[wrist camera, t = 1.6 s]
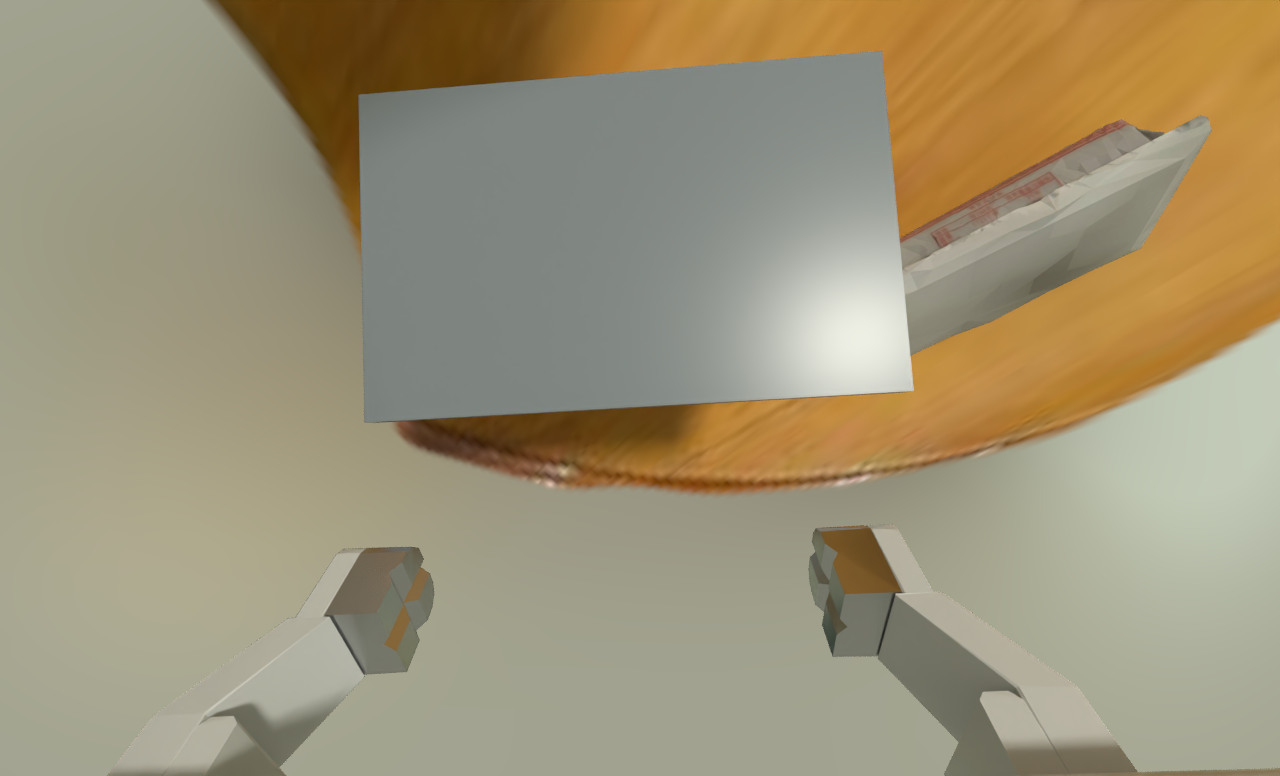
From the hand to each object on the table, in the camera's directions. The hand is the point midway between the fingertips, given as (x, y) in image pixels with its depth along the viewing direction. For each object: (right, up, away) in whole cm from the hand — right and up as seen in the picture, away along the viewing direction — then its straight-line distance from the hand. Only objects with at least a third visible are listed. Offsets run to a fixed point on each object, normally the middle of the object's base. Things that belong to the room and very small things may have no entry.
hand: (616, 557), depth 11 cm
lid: (0, +10, +12) cm, 15 cm away
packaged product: (+23, +10, +25) cm, 35 cm away
